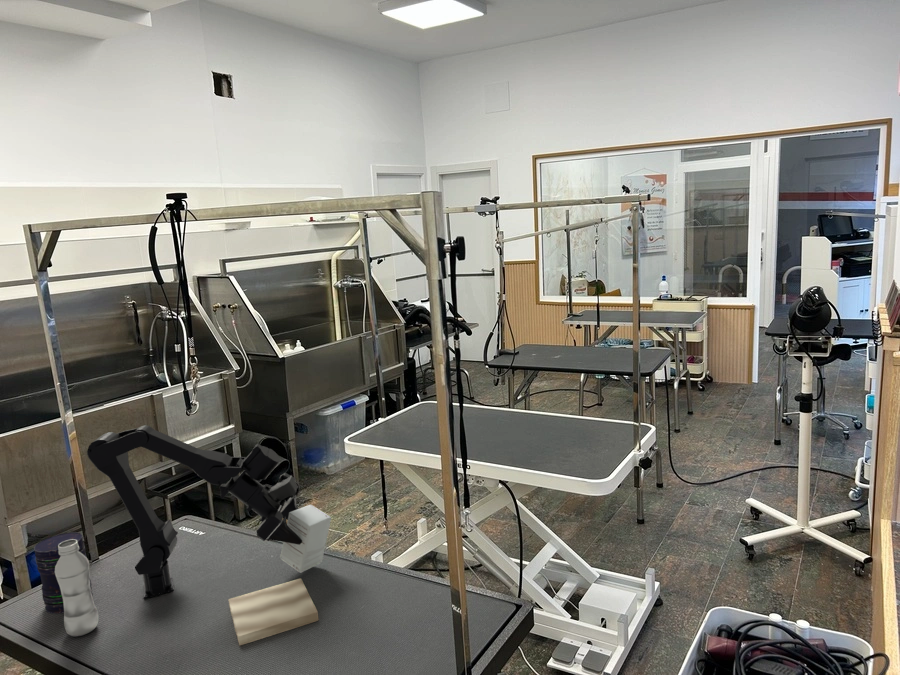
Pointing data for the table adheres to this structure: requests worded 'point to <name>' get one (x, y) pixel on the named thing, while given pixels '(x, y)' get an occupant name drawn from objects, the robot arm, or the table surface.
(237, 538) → the table surface
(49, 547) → the storage jar
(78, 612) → the plastic bottle
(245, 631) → the ash board
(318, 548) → the supplement box
